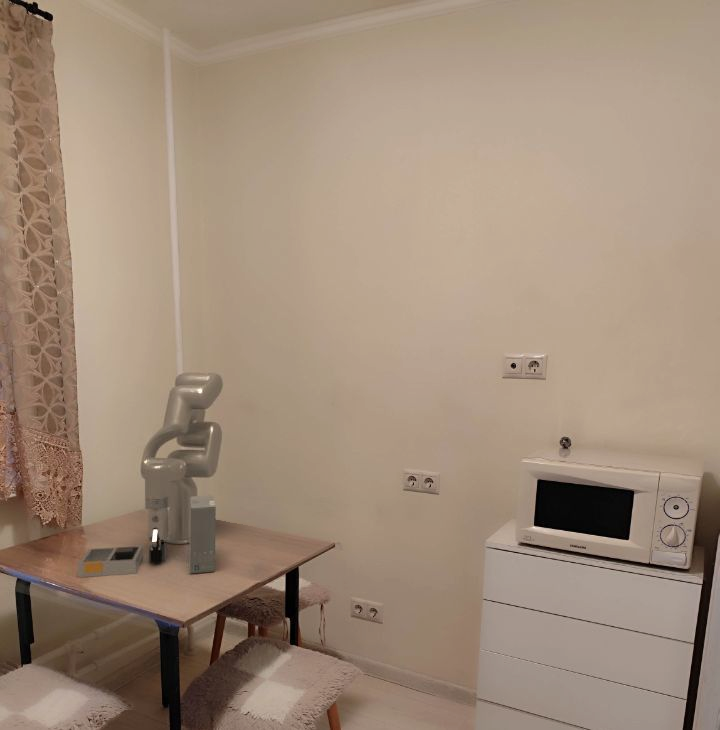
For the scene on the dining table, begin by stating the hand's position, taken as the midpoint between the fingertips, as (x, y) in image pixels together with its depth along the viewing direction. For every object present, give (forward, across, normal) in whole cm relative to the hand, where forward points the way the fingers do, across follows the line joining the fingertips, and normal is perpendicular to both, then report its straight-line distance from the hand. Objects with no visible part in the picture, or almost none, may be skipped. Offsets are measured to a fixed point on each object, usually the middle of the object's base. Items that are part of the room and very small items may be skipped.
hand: (157, 557), depth 183 cm
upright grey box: (+1, 0, 0) cm, 1 cm away
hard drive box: (+1, -6, -14) cm, 15 cm away
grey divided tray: (+1, -4, +13) cm, 13 cm away
